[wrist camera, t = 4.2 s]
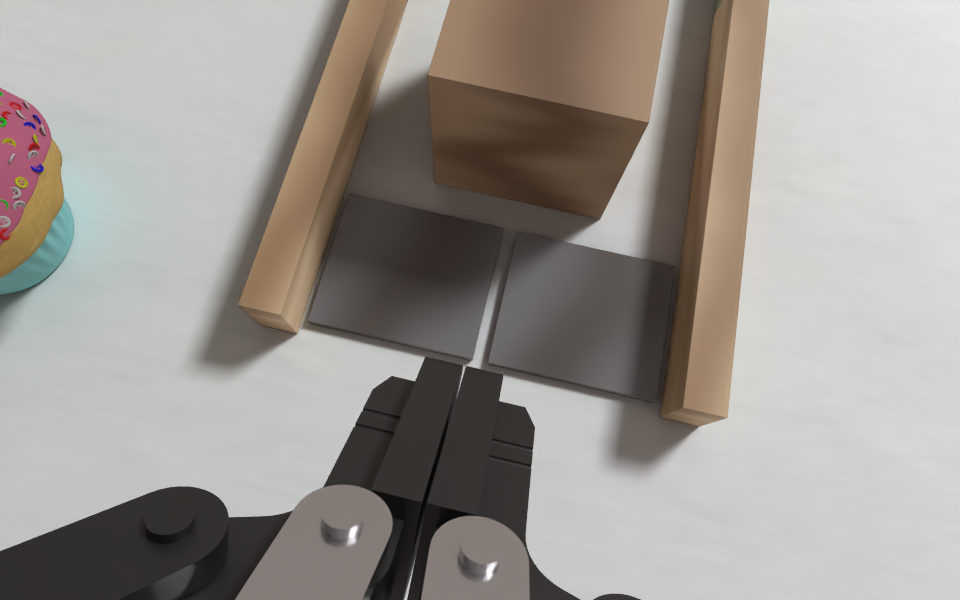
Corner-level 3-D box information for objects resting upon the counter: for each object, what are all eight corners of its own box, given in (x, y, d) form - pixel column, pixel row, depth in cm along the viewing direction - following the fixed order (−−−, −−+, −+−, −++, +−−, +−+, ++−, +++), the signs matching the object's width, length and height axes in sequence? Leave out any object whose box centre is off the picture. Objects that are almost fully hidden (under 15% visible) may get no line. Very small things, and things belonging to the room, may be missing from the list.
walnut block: (435, 183, 26) (427, 74, 19) (472, 49, 28) (477, -90, 22) (599, 220, 26) (648, 122, 19) (625, 82, 28) (677, -50, 21)
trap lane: (259, 324, 24) (237, 305, 21) (444, -200, 33) (443, -255, 31) (699, 426, 23) (727, 417, 21) (763, -137, 32) (788, -188, 30)
